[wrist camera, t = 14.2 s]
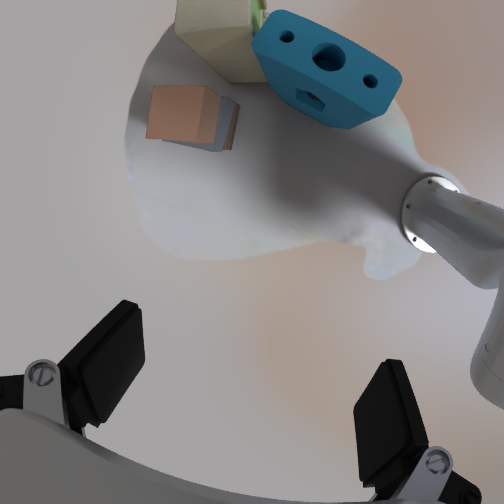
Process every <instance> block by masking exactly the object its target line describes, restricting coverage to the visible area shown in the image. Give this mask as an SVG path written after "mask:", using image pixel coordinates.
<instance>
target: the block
mask: <svg viewBox="0 0 504 504" xmlns="http://www.w3.org/2000/svg"><path fill="white" fill-rule="evenodd" d="M251 45H252V49H253V51H254V53H255V55H256V57H257V59H258V61H259V64H260V66H261V68H262V70H263V72H264V75H265V77H266V79H267V81H268V84H269V86H270V87H271V88H272V89H273V90H274V91H275V92H276V93H277V94H278V95H279V96H280V97H281V98H282V99H283V100H284V101H285V103H287V104H289V105H291V106H292V107H294V108H296V109H298V110H300V111H302V112H304V113H305V114H307V115H309V116H311V117H312V118H314V119H316V120H318V121H319V122H321V123H323V124H324V125H326V126H331V127H338V128H344V129H350V128H353V127H355V126H357V125H359V124H362V123H364V122H366V121H369V120H371V119H373V118H376V117H378V116H380V115H383V114H384V113H385V112H386V111H387V109H388V107H389V105H390V103H391V102H392V100H393V98H394V96H395V94H396V93H397V91H398V89H399V87H400V85H401V83H402V76H401V74H400V73H399V71H398V70H397V69H396V68H394V67H393V66H391V65H390V64H388V63H387V62H385V61H384V60H382V59H381V58H379V57H378V56H376V55H375V54H373V53H371V52H370V51H368V50H366V49H365V48H363V47H361V46H360V45H358V44H356V43H354V42H353V41H351V40H349V39H347V38H345V37H343V36H342V35H340V34H338V33H336V32H333V31H332V30H329V29H328V28H326V27H323V26H321V25H319V24H317V23H315V22H313V21H311V20H308V19H306V18H304V17H301V16H299V15H296V14H294V13H291V12H289V11H286V10H276V11H274V12H272V13H271V14H270V15H269V17H268V18H267V20H266V21H265V22H264V24H263V25H262V27H261V28H260V30H259V31H258V33H257V34H256V35H255V37H254V38H253V40H252V43H251ZM311 93H312V94H314V95H315V96H316V97H317V98H318V99H320V100H321V101H317V100H314V99H312V98H311V97H310V94H311Z"/></svg>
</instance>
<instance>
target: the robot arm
mask: <svg viewBox="0 0 504 504" xmlns="http://www.w3.org/2000/svg"><path fill="white" fill-rule="evenodd" d="M428 180H429V183H428ZM407 204H408V207H406V206H407ZM401 222H402V227H403V230H404V233H405V235H406V237H407V238H408V240H409V241H410V242H411V243H412V244H413V245H414V246H415V247H416V248H418V249H420V250H422V251H425V252H437V253H438V254H439V255H440V256H442V257H443V258H444V259H445V260H446V261H447V262H448V263H450V264H451V265H452V266H453V267H454V268H455V269H456V270H457V271H458V272H459V273H461V274H462V275H463V276H464V277H465V278H466V279H467V280H468V281H469V282H470V283H472V284H473V285H475V286H477V287H479V288H483V289H495V288H499V289H498V293H497V296H496V299H495V302H494V306H493V309H492V312H491V314H490V317H489V319H488V322H487V324H486V327H485V329H484V331H483V334H482V336H481V338H480V341H479V343H478V345H477V348H476V350H475V352H474V354H473V358H472V361H471V365H470V375H471V379H472V382H473V384H474V386H475V388H476V389H477V391H478V392H479V393H480V394H481V395H482V396H483V397H484V398H485V399H487V400H488V401H489V402H491V403H492V404H494V405H496V406H498V407H499V408H502V409H504V209H502V208H499V207H497V206H494V205H491V204H489V203H486V202H484V201H481V200H478V199H476V198H473V197H470V196H467V195H465V194H462V193H460V191H459V190H458V188H457V187H456V186H455V185H454V184H453V183H452V182H451V181H449V180H448V179H446V178H443V177H439V176H428V177H425V178H422V179H420V180H419V181H417V182H416V183H415V184H414V185H413V186H412V187H411V188H410V189H409V191H408V192H407V194H406V196H405V198H404V201H403V205H402V210H401ZM413 237H414V238H413ZM144 362H145V351H144V339H143V326H142V311H141V309H140V308H138V305H137V304H136V303H133V302H130V301H127V300H122V301H121V302H120V303H119V304H118V305H117V306H116V307H115V308H114V309H113V310H112V311H110V312H109V313H108V314H107V315H106V316H105V317H104V318H103V319H102V320H101V321H100V322H99V323H98V324H97V325H96V326H95V327H94V328H93V329H92V330H91V331H90V332H89V333H88V334H87V335H86V336H85V337H84V338H83V339H82V340H81V341H80V342H79V343H78V344H77V345H76V346H75V347H74V348H73V349H72V350H71V351H70V352H69V353H68V354H67V355H66V356H65V357H64V358H63V359H62V360H61V361H60V362H59V363H58V364H57V365H56V364H55V363H53V362H52V361H50V360H46V359H41V360H36V361H34V362H32V363H31V364H30V365H29V366H28V367H27V369H26V370H25V374H24V375H13V376H2V377H0V504H481V500H482V496H481V492H480V490H479V488H477V487H476V486H475V485H474V484H472V483H470V482H469V481H467V480H466V479H464V478H463V477H461V476H460V475H458V474H457V473H455V472H454V471H452V467H453V459H452V457H451V455H450V453H449V452H448V451H447V450H446V449H444V448H442V447H440V446H433V447H430V448H429V445H428V443H429V441H428V438H427V434H426V431H425V427H424V424H423V421H422V417H421V414H420V411H419V408H418V405H417V402H416V399H415V396H414V393H413V390H412V387H411V384H410V381H409V379H408V376H407V373H406V370H405V368H404V365H403V363H402V361H401V360H395V359H387V360H386V361H385V362H382V363H381V364H380V366H379V367H378V369H377V371H376V372H375V374H374V376H373V377H372V379H371V381H370V382H369V384H368V386H367V387H366V389H365V390H364V392H363V393H362V395H361V397H360V398H359V400H358V401H357V403H356V404H355V406H354V411H353V414H354V422H355V432H356V442H357V453H358V466H359V478H360V481H363V488H365V487H366V488H367V487H375V494H374V495H373V496H372V498H371V499H370V500H369V501H368V502H343V503H321V502H300V501H287V500H278V499H269V498H262V497H255V496H249V495H244V494H238V493H233V492H229V491H224V490H219V489H215V488H211V487H208V486H204V485H200V484H196V483H193V482H190V481H186V480H183V479H180V478H177V477H174V476H171V475H168V474H165V473H162V472H159V471H157V470H154V469H152V468H149V467H147V466H144V465H141V464H139V463H137V462H134V461H132V460H130V459H128V458H125V457H123V456H121V455H119V454H117V453H115V452H113V451H111V450H108V449H106V448H104V447H102V446H100V445H98V444H96V443H95V442H92V441H91V440H89V439H87V438H86V435H85V430H84V427H85V426H86V424H87V423H90V424H91V425H93V426H95V427H97V428H98V427H99V425H100V424H101V423H105V422H106V421H107V419H108V418H109V416H110V415H111V413H112V412H113V410H114V409H115V407H116V406H117V404H118V403H119V401H120V400H121V398H122V397H123V395H124V394H125V392H126V391H127V389H128V388H129V386H130V385H131V383H132V382H133V380H134V379H135V377H136V376H137V374H138V373H139V371H140V370H141V368H142V367H143V365H144Z"/></svg>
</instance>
